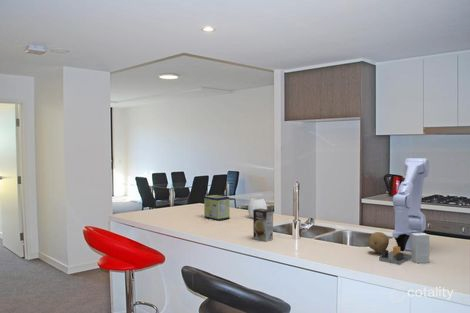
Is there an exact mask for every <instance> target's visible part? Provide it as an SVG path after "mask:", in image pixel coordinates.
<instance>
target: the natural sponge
mask: <svg viewBox="0 0 470 313" xmlns="http://www.w3.org/2000/svg"><path fill="white" fill-rule="evenodd" d="M389 243H390V238H389V237H388V235H387V234H386V233H384V232H381V231H376V232H373V233H372V234H371V235H370V236H369V238H368V241H367V244H368V247H369V248H370V249H371V250H373V251H374V252H375V253H377V254H379V255H380V254H382V251H383V250H388V248H389V247H388V246H389Z"/></svg>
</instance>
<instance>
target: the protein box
mask: <svg viewBox="0 0 470 313" xmlns="http://www.w3.org/2000/svg"><path fill="white" fill-rule="evenodd" d="M203 197H204V198H203V200H204V202H203V203H204V205H203V206H204V207H203V208H204V209H203V210H204V214H203V215H204V219H207V220H211V221H216V222H220V221H225V220H230V217H231V216H230V214H231V213H230V196H225V195H219V194H218V195H217V194H212V195H204V196H203Z"/></svg>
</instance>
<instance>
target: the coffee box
mask: <svg viewBox="0 0 470 313" xmlns="http://www.w3.org/2000/svg"><path fill="white" fill-rule="evenodd" d="M252 219H253V227H252V228H253V240H256V241H262V242H265V243H267V242H270V241H273V240H274V210H273V209H268V208H267V209H261V208H260V209H254V210H253V218H252Z"/></svg>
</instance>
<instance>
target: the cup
mask: <svg viewBox="0 0 470 313" xmlns="http://www.w3.org/2000/svg"><path fill="white" fill-rule="evenodd" d="M247 205H248V207H247V211H248V212H247V213H248V216H249V217H250V218H251V219H253V210H254V209H260V208H261V209H267V210H268V205H267V202H266V201H265V198H263V197H252V198H251V199H250V201H249V203H248V204H247Z"/></svg>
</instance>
